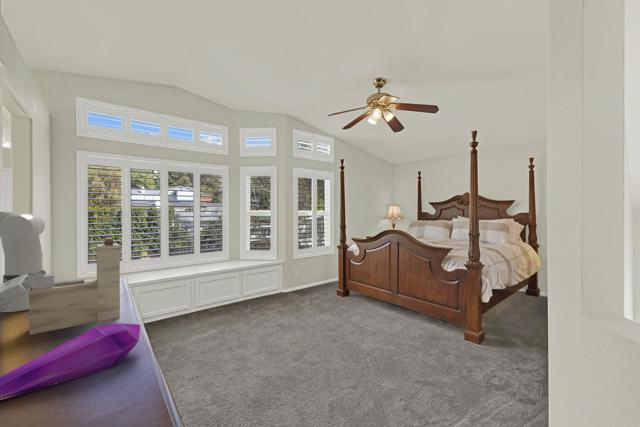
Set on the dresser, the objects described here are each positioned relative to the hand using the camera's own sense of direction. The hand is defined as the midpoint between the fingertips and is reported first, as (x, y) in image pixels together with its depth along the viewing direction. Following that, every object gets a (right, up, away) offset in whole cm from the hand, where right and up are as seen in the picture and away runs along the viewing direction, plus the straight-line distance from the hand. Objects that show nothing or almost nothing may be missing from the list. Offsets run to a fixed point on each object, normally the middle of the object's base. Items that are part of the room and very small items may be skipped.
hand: (43, 273), depth 97 cm
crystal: (+33, -19, -25) cm, 46 cm away
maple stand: (+7, -19, +6) cm, 21 cm away
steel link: (+3, -5, +3) cm, 6 cm away
